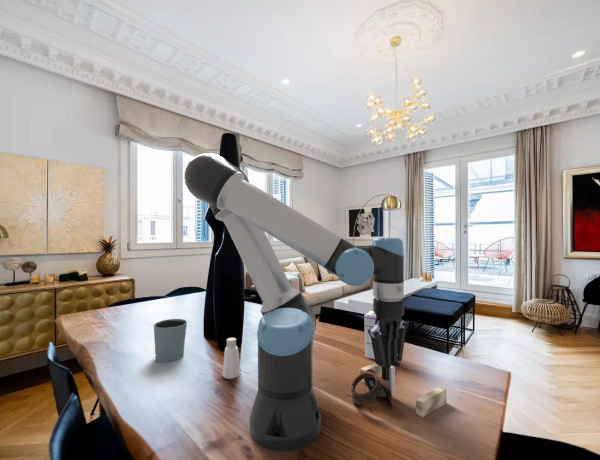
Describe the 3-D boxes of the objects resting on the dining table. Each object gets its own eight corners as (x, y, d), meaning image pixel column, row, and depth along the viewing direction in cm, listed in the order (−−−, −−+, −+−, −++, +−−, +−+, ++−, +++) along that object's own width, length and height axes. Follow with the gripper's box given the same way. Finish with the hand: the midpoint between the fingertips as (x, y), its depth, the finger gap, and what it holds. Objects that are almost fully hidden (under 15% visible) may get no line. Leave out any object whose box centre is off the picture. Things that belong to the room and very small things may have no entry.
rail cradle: (422, 420, 62) (422, 402, 62) (360, 382, 78) (360, 368, 78) (446, 405, 68) (446, 388, 68) (384, 373, 84) (383, 359, 84)
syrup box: (381, 361, 91) (381, 316, 92) (364, 357, 95) (364, 314, 95) (386, 354, 96) (386, 312, 96) (369, 351, 99) (369, 310, 100)
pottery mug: (401, 419, 63) (385, 390, 62) (363, 431, 65) (347, 404, 64) (390, 379, 75) (376, 355, 73) (358, 391, 76) (344, 367, 75)
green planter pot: (148, 358, 93) (149, 323, 94) (178, 349, 101) (179, 316, 101) (160, 368, 87) (160, 330, 87) (192, 358, 94) (192, 322, 94)
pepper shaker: (220, 374, 83) (220, 337, 83) (238, 370, 85) (238, 334, 85) (223, 383, 78) (223, 343, 78) (242, 379, 80) (242, 340, 81)
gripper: (383, 304, 64) (383, 407, 64) (417, 297, 71) (417, 390, 71) (359, 298, 70) (360, 392, 70) (392, 292, 78) (393, 377, 77)
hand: (389, 391), depth 71 cm, fingers closed
